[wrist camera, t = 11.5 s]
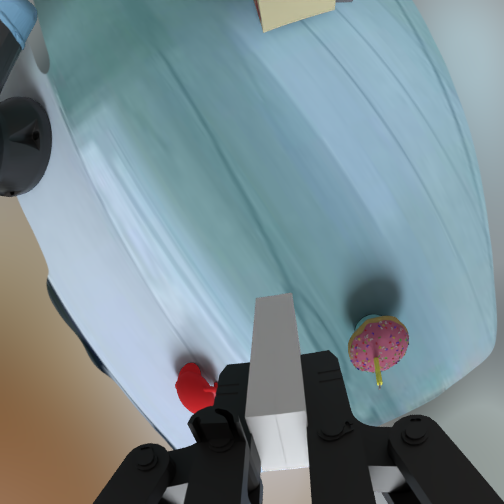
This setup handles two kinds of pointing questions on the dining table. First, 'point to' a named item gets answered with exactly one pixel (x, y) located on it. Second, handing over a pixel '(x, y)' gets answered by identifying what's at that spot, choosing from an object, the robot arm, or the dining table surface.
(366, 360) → the cupcake
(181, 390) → the red rounded figurine
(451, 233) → the dining table surface
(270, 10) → the milk carton
